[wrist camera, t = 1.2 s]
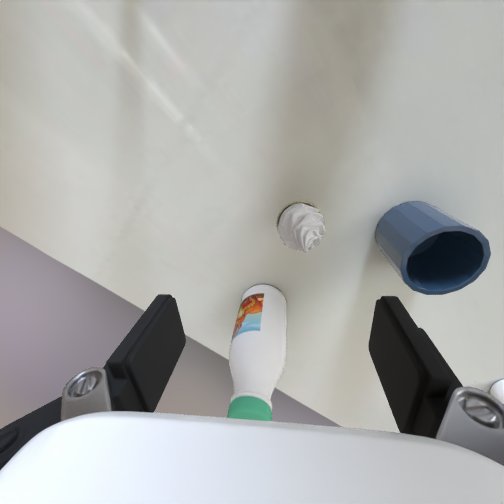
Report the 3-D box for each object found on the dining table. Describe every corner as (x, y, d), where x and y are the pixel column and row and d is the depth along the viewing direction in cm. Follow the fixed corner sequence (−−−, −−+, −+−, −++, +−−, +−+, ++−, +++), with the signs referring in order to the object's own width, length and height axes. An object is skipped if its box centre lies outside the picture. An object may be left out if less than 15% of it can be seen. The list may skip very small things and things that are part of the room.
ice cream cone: (318, 215, 35) (339, 270, 22) (283, 224, 36) (282, 282, 23) (310, 180, 33) (327, 217, 20) (274, 191, 34) (266, 233, 21)
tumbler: (378, 203, 33) (408, 228, 25) (448, 198, 32) (502, 223, 24) (371, 258, 37) (395, 295, 29) (434, 256, 36) (476, 294, 28)
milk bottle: (283, 280, 41) (280, 401, 23) (289, 317, 44) (291, 446, 26) (237, 285, 42) (202, 401, 24) (247, 320, 45) (221, 444, 28)
